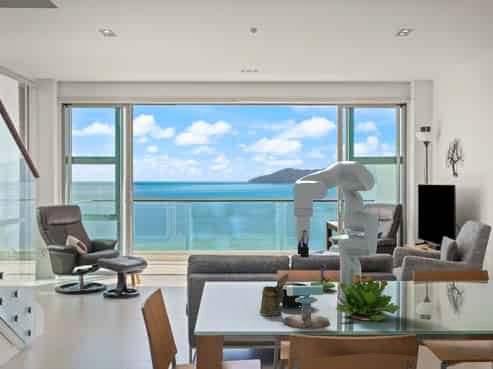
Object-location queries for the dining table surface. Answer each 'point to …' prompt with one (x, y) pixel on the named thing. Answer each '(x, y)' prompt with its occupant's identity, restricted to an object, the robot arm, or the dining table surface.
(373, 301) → the potted flower
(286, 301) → the bowl
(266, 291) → the wooden mug
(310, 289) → the white-capped blue bar
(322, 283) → the figurine
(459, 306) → the dining table surface
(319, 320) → the base plate
